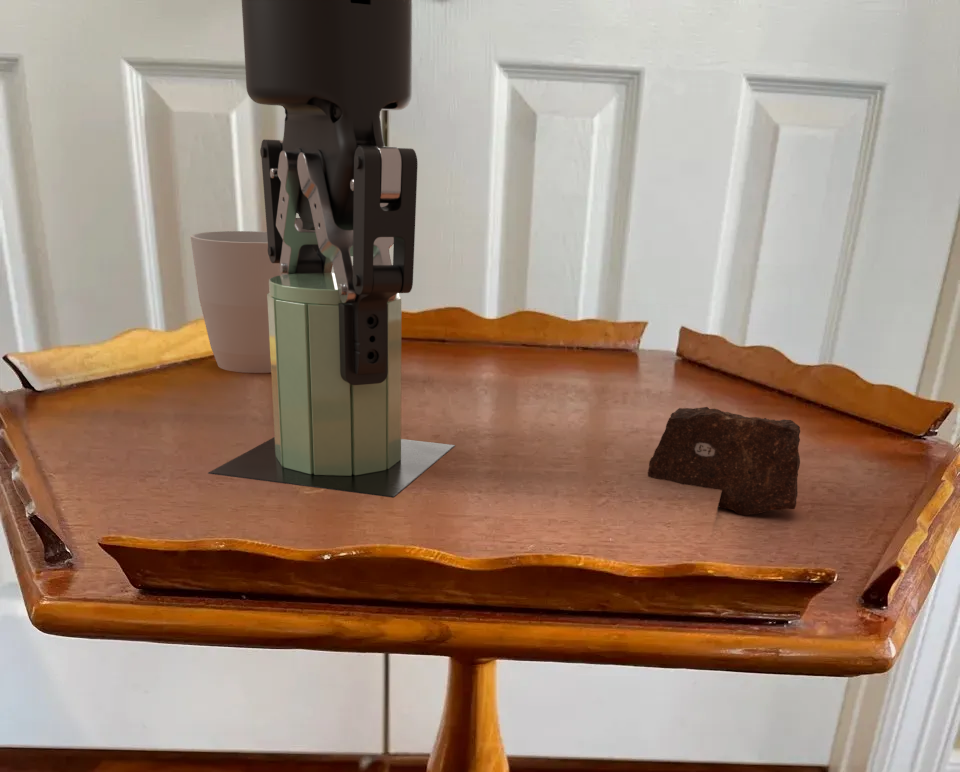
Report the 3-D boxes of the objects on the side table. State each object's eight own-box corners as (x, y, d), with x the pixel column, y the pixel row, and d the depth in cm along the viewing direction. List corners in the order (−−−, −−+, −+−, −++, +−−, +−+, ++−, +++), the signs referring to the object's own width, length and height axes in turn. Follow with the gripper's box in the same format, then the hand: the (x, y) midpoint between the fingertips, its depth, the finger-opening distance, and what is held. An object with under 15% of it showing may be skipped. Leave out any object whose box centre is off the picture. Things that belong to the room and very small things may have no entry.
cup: (299, 367, 81) (293, 231, 76) (326, 389, 74) (321, 242, 70) (194, 371, 78) (182, 230, 73) (212, 395, 71) (200, 242, 67)
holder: (208, 495, 52) (195, 329, 48) (294, 446, 61) (288, 302, 57) (393, 520, 50) (393, 347, 46) (455, 465, 58) (459, 316, 55)
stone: (642, 499, 54) (652, 404, 52) (657, 484, 57) (668, 393, 54) (790, 524, 51) (808, 425, 49) (799, 507, 54) (817, 412, 52)
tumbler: (255, 467, 53) (243, 283, 49) (309, 436, 58) (303, 269, 54) (371, 482, 51) (369, 293, 47) (415, 448, 57) (417, 278, 53)
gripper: (198, -7, 49) (224, 347, 56) (303, -42, 38) (318, 405, 45) (344, 7, 53) (350, 340, 60) (480, -21, 41) (467, 392, 49)
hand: (336, 367), depth 53 cm, fingers closed on tumbler, 6 cm apart
